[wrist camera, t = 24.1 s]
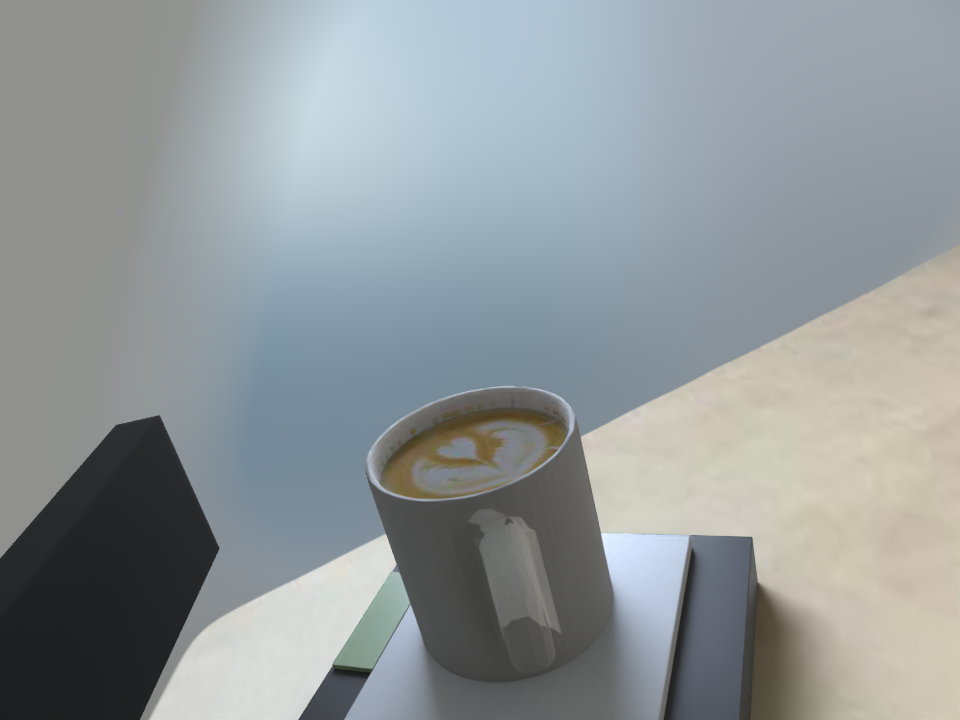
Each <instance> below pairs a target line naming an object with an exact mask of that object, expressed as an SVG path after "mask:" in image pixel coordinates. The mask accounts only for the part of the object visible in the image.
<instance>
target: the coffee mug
mask: <svg viewBox="0 0 960 720" xmlns="http://www.w3.org/2000/svg"><path fill="white" fill-rule="evenodd" d="M365 466H366V475H367V479H368V483H369V486H370V488H371V491H372V494H373V497H374V500H375V503H376V506H377V509H378V511H379V514H380V517H381V520H382V523H383V526H384V529H385V532H386V535H387V537H388V540H389V543H390V546H391V549H392V552H393V555H394V558H395V561H396V563H397V566H398V569H399V572H400V575H401V578H402V581H403V584H404V586H405V589H406V592H407V595H408V598H409V601H410V604H411V607H412V609H413V612H414V615H415V618H416V621H417V624H418V627H419V630H420V633H421V635H422V638H423V641H424V644H425V646H426V648H427V650H428V651H429V653H430V654H431V656H432V657H433V658H434V659H435V660H436V661H437V662H438V663H439V664H440V665H442V666H443V667H444V668H446V669H447V670H449V671H451V672H453V673H455V674H457V675H460V676H463V677H466V678H469V679H474V680H479V681H486V682H505V681H516V680H521V679H526V678H530V677H534V676H537V675H540V674H543V673H546V672H548V671H551V670H554V669H556V668H557V667H559V666H561V665H563V664H565V663H567V662H569V661H570V660H572V659H574V658H575V657H576V656H578V655H579V654H580V653H582V652H583V651H584V650H585V649H586V648H588V647H589V646H590V644H591V643H592V642H593V641H594V640H595V639H596V638H597V637H598V635H599V634H600V632H601V631H602V629H603V628H604V626H605V625H606V623H607V621H608V619H609V616H610V612H611V609H612V605H613V588H612V583H611V578H610V574H609V569H608V564H607V560H606V555H605V550H604V546H603V541H602V536H601V532H600V527H599V522H598V517H597V513H596V508H595V503H594V499H593V494H592V489H591V485H590V480H589V475H588V470H587V466H586V461H585V456H584V452H583V447H582V442H581V438H580V433H579V428H578V424H577V420H576V417H575V414H574V412H573V410H572V408H571V407H570V406H569V404H568V403H567V402H566V401H565V400H563V399H562V398H561V397H559V396H557V395H555V394H553V393H550V392H547V391H544V390H541V389H537V388H531V387H522V386H500V387H490V388H483V389H476V390H471V391H467V392H463V393H459V394H455V395H452V396H449V397H446V398H443V399H440V400H438V401H435V402H432V403H430V404H428V405H426V406H423V407H421V408H419V409H417V410H415V411H414V412H412V413H410V414H408V415H406V416H405V417H403V418H402V419H401V420H399V421H397V422H396V423H395V424H393V425H392V426H391V427H390V428H389V429H387V430H386V431H385V432H384V433H383V434H382V435H381V436H380V437H379V438H378V439H377V441H376V442H375V443H374V445H373V446H372V448H371V449H370V452H369V454H368V456H367V460H366V465H365Z"/></svg>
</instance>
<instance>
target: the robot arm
mask: <svg viewBox="0 0 960 720" xmlns="http://www.w3.org/2000/svg"><path fill="white" fill-rule="evenodd" d="M218 551H219V546H218V544H217V542H216V540H215V537H214V535H213V533H212V531H211V528H210V526H209V524H208V522H207V519H206V517H205V515H204V513H203V511H202V509H201V506H200V504H199V502H198V499H197V497H196V495H195V493H194V491H193V488H192V486H191V484H190V482H189V480H188V477H187V475H186V473H185V471H184V468H183V466H182V464H181V462H180V459H179V457H178V455H177V453H176V450H175V448H174V446H173V444H172V442H171V439H170V437H169V435H168V433H167V430H166V428H165V426H164V424H163V422H162V420H161V417H160V416H154V417H150V418H145V419H141V420H136V421H132V422H127V423H123V424H119V425H116V426H115V427H114V428H113V429H112V430H111V432H110V433H109V434H108V435H107V436H106V437H105V438H104V440H103V441H102V442H101V443H100V444H99V445H98V447H97V448H96V449H95V450H94V451H93V452H92V453H91V454H90V456H89V457H88V458H87V459H86V460H85V461H84V463H83V464H82V465H81V466H80V467H79V469H77V471H76V472H75V473H74V474H73V475H72V476H71V478H70V479H69V480H68V481H67V482H66V483H65V485H64V486H63V487H62V488H61V489H60V490H59V491H58V492H57V494H56V495H55V496H54V497H53V498H52V499H51V501H50V502H49V503H48V504H47V505H46V506H45V508H44V509H43V510H42V511H41V512H40V513H39V515H38V516H37V517H36V518H35V519H34V520H33V521H32V522H31V524H30V525H29V526H28V527H27V528H26V529H25V531H24V532H23V533H22V534H21V535H20V536H19V537H18V539H17V540H16V541H15V542H14V543H13V545H12V546H11V547H10V548H9V549H8V550H7V551H6V552H5V554H4V555H3V556H2V557H1V558H0V720H140V718H141V716H142V714H143V712H144V710H145V707H146V705H147V703H148V701H149V699H150V697H151V694H152V692H153V690H154V688H155V686H156V684H157V682H158V680H159V677H160V675H161V673H162V671H163V669H164V667H165V664H166V662H167V660H168V658H169V656H170V653H171V651H172V649H173V647H174V645H175V643H176V641H177V639H178V637H179V634H180V632H181V630H182V628H183V626H184V623H185V621H186V619H187V617H188V615H189V613H190V611H191V609H192V606H193V604H194V602H195V600H196V598H197V596H198V594H199V591H200V589H201V587H202V585H203V583H204V581H205V579H206V576H207V574H208V572H209V570H210V568H211V566H212V563H213V561H214V559H215V557H216V555H217V553H218Z"/></svg>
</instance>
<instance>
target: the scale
mask: <svg viewBox="0 0 960 720" xmlns="http://www.w3.org/2000/svg"><path fill="white" fill-rule="evenodd" d="M601 536H602V541H603V546H604V550H605V555H606V560H607V564H608V569H609V574H610V578H611V583H612V588H613V605H612V609H611V612H610V616H609V619H608V621H607V623H606V625H605V626H604V628H603V629H602V631H601V632H600V634H599V635H598V637H597V638H596V639H595V640H594V641H593V642H592V643H591V644H590V646H589V647H588V648H586V649H585V650H584V651H583V652H582V653H580V654H579V655H578V656H576V657H575V658H574V659H572V660H570V661H569V662H567V663H565V664H563V665H561V666H559V667H557V668H556V669H554V670H551V671H548V672H546V673H543V674H540V675H537V676H534V677H530V678H526V679H521V680H516V681H505V682H486V681H479V680H474V679H469V678H466V677H463V676H460V675H457V674H455V673H453V672H451V671H449V670H447V669H446V668H444V667H443V666H442V665H440V664H439V663H438V662H437V661H436V660H435V659H434V658H433V657H432V656H431V654H430V653H429V651H428V650H427V648H426V646H425V644H424V641H423V638H422V635H421V633H420V630H419V627H418V624H417V621H416V618H415V615H414V612H413V609H412V607H411V604H410V601H409V598H408V595H407V592H406V589H405V586H404V584H403V581H402V578H401V575H400V572H399V569H398V566H397V565H396V567H395V568H394V570H393V571H392V572H391V573H390V575H389V576H388V578H387V579H386V581H385V582H384V584H383V586H382V587H381V589H380V590H379V592H378V593H377V595H376V597H375V598H374V600H373V601H372V603H371V604H370V606H369V608H368V609H367V611H366V612H365V614H364V615H363V617H362V619H361V620H360V622H359V623H358V625H357V626H356V628H355V630H354V631H353V633H352V634H351V636H350V637H349V639H348V641H347V642H346V644H345V645H344V647H343V648H342V650H341V652H340V653H339V655H338V656H337V658H336V659H335V661H334V663H333V664H332V665H333V666H332V668H331V669H330V671H329V672H328V674H327V676H326V677H325V679H324V680H323V682H322V683H321V685H320V687H319V688H318V690H317V691H316V693H315V694H314V696H313V698H312V699H311V701H310V702H309V704H308V705H307V707H306V709H305V710H304V712H303V713H302V715H301V717H300V718H299V720H750V709H751V691H752V672H753V654H754V636H755V617H756V599H757V572H756V564H755V556H754V547H753V539H752V537H737V536H700V535H664V534H627V533H601Z"/></svg>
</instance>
